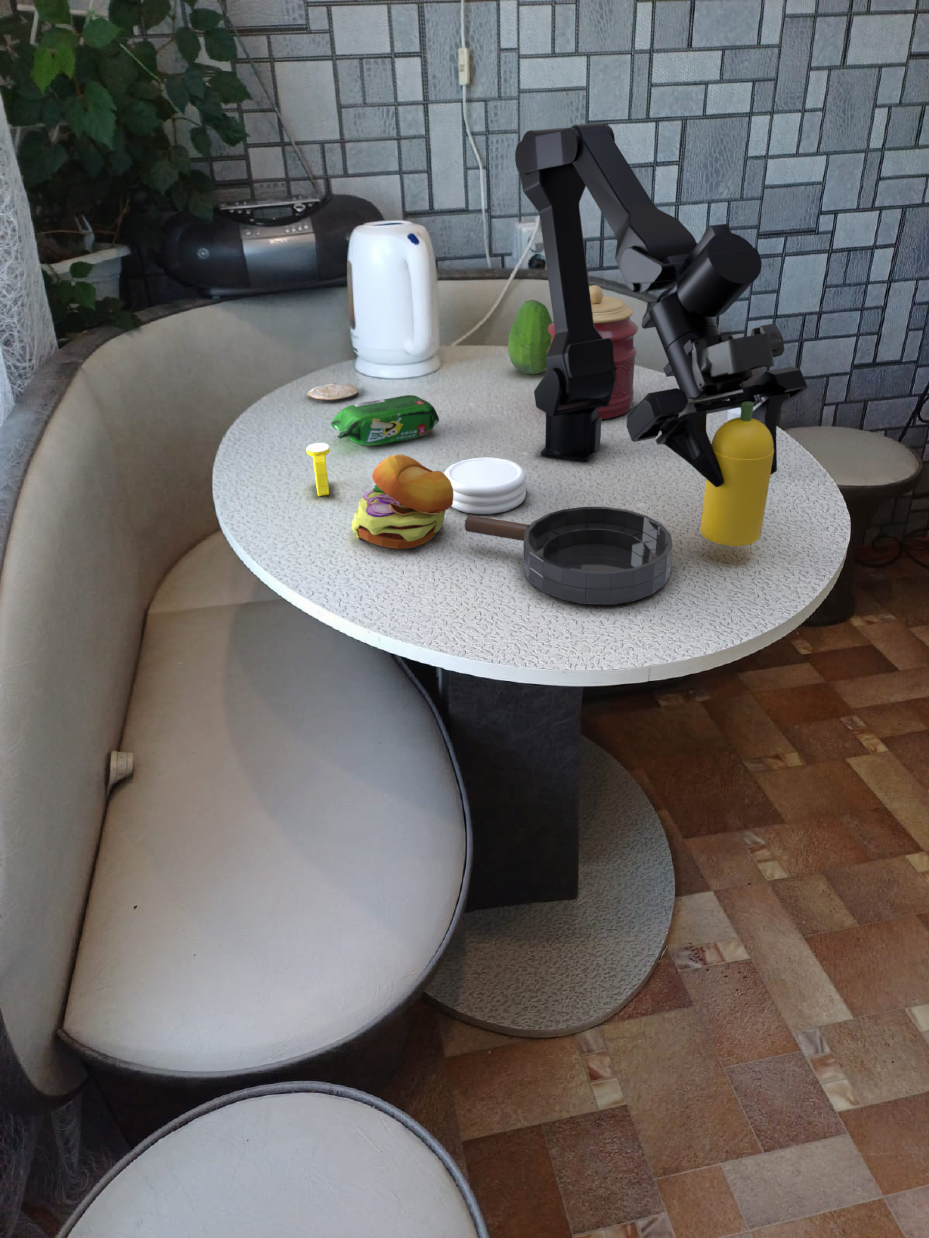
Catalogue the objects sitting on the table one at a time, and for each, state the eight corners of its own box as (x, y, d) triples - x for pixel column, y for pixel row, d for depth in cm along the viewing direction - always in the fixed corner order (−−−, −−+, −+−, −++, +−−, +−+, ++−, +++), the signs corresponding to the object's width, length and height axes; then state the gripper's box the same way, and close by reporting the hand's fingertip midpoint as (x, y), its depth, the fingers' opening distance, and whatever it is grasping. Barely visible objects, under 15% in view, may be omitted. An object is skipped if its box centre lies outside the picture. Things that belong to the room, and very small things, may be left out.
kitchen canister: (531, 413, 139) (531, 291, 130) (569, 388, 149) (573, 272, 139) (611, 427, 133) (618, 300, 124) (646, 400, 143) (655, 280, 133)
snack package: (325, 440, 132) (321, 405, 130) (427, 421, 138) (425, 386, 135) (342, 457, 127) (338, 421, 124) (447, 436, 132) (445, 401, 130)
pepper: (694, 540, 97) (709, 409, 90) (706, 516, 102) (721, 390, 94) (755, 550, 95) (776, 417, 88) (765, 525, 100) (785, 396, 92)
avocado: (542, 383, 151) (543, 307, 145) (500, 377, 155) (499, 302, 149) (563, 369, 157) (565, 296, 151) (522, 364, 161) (522, 292, 154)
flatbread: (350, 384, 153) (349, 378, 153) (365, 397, 148) (364, 391, 147) (302, 392, 151) (301, 386, 150) (315, 406, 145) (314, 399, 144)
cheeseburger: (350, 516, 110) (364, 437, 106) (438, 530, 112) (456, 453, 107) (348, 555, 102) (363, 470, 97) (444, 569, 104) (463, 487, 99)
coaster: (514, 519, 109) (514, 492, 107) (433, 511, 111) (431, 484, 109) (534, 486, 117) (534, 459, 115) (458, 478, 119) (457, 452, 118)
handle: (464, 534, 101) (464, 519, 100) (471, 527, 102) (470, 512, 101) (525, 544, 98) (525, 529, 97) (531, 537, 100) (531, 521, 99)
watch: (310, 483, 120) (304, 439, 116) (332, 481, 120) (327, 436, 117) (313, 502, 115) (307, 456, 111) (335, 499, 115) (330, 454, 112)
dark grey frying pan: (502, 592, 94) (501, 557, 92) (551, 530, 106) (552, 498, 104) (648, 620, 89) (651, 584, 87) (683, 552, 101) (686, 518, 99)
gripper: (651, 309, 86) (711, 463, 83) (811, 285, 92) (871, 427, 90) (602, 371, 96) (654, 509, 94) (748, 345, 103) (801, 474, 100)
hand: (746, 479), depth 94 cm, fingers closed on pepper, 6 cm apart
